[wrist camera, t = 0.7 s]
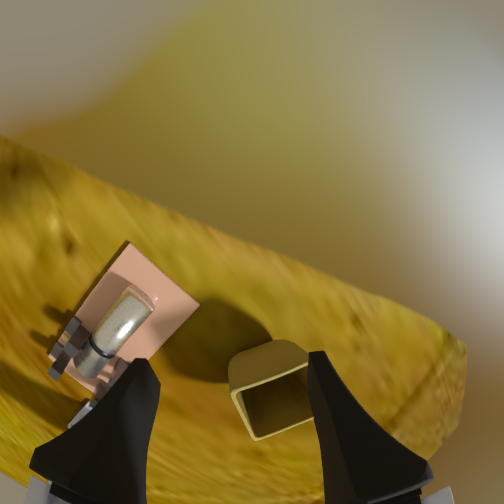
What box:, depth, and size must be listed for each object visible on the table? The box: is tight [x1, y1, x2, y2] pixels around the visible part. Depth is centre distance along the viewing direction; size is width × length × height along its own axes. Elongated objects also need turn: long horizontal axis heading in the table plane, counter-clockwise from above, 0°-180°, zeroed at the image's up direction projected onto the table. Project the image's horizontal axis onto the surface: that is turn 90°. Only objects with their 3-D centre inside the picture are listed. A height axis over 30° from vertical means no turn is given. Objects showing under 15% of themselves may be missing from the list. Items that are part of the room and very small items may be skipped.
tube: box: [73, 285, 155, 378], centre depth 25 cm, size 12×4×4 cm, turn 134°
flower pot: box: [228, 340, 313, 441], centre depth 28 cm, size 9×9×9 cm
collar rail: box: [48, 315, 130, 408], centre depth 25 cm, size 7×10×4 cm
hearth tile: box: [48, 243, 200, 393], centre depth 27 cm, size 20×10×1 cm, turn 134°
